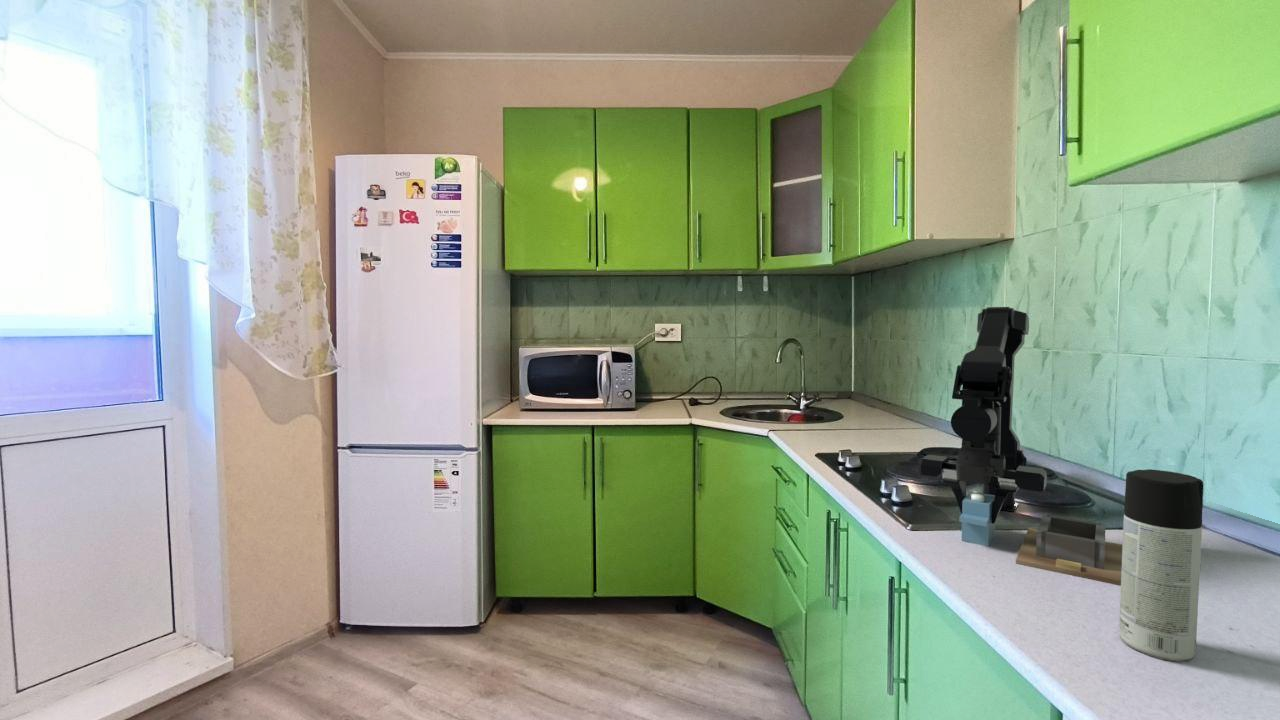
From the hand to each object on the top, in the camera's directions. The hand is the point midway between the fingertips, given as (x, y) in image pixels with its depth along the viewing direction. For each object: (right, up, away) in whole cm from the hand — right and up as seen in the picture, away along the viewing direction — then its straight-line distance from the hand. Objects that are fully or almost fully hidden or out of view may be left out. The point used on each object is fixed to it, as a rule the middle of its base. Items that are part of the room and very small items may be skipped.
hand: (978, 520), depth 102 cm
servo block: (0, -3, 0) cm, 3 cm away
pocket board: (+10, -3, -8) cm, 13 cm away
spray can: (0, -5, -35) cm, 35 cm away
